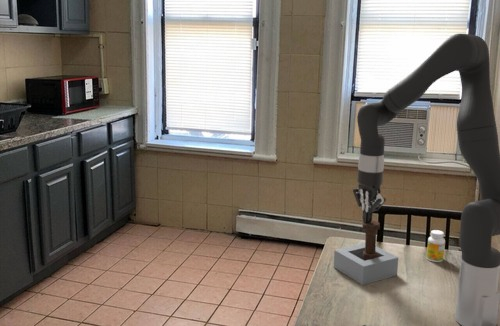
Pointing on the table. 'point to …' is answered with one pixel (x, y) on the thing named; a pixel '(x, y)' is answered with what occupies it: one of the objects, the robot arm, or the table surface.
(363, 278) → the socket block
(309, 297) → the table surface
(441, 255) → the supplement bottle
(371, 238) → the bolt
